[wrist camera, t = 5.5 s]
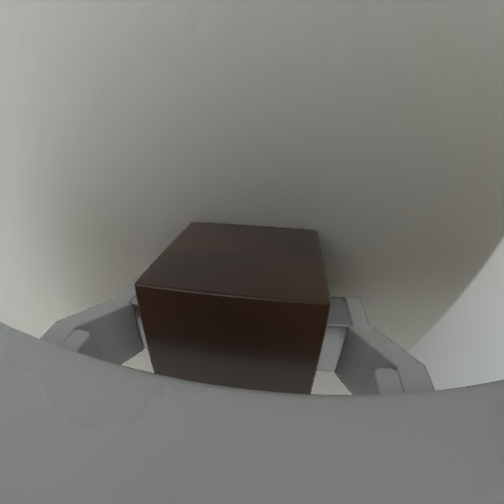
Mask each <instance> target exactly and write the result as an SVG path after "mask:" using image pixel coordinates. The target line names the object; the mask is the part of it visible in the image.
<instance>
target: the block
mask: <svg viewBox="0 0 504 504" xmlns="http://www.w3.org/2000/svg"><path fill="white" fill-rule="evenodd" d="M134 286H135V292H136V297H137V302H138V307H139V312H140V316H141V321H142V326H143V330H144V334H145V338H146V343H147V347H148V351H149V355H150V358H151V362H152V366H153V370H154V373H155V374H159V375H164V376H169V377H174V378H179V379H184V380H189V381H195V382H201V383H207V384H213V385H220V386H227V387H234V388H242V389H251V390H260V391H271V392H282V393H297V394H311V390H312V386H313V382H314V378H315V374H316V370H317V366H318V362H319V358H320V354H321V349H322V345H323V341H324V336H325V331H326V327H327V322H328V317H329V312H330V307H331V300H330V295H329V289H328V284H327V278H326V273H325V268H324V263H323V258H322V253H321V248H320V243H319V238H318V233H317V231H312V230H299V229H286V228H272V227H258V226H243V225H228V224H211V223H193V222H192V223H190V224H189V225H188V226H187V227H186V228H185V229H184V231H183V232H182V233H181V234H180V235H179V236H178V237H177V238H176V239H175V240H174V241H173V242H172V243H171V244H170V245H169V246H168V247H167V248H166V249H165V250H164V251H163V253H162V254H161V255H160V256H159V257H158V258H157V259H156V260H155V261H154V262H153V263H152V264H151V265H150V267H149V268H148V269H147V270H146V271H145V272H144V273H143V274H142V275H141V276H140V278H139V279H138V280H137V281H136V282H135V285H134Z"/></svg>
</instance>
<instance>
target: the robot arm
mask: <svg viewBox="0 0 504 504" xmlns="http://www.w3.org/2000/svg"><path fill="white" fill-rule="evenodd" d="M138 279H139V278H136V279H135V280H134V281H133V282H132V283H131V284H130V285H129V286H128V287H127V289H126V290H125V291H124V292H123V293H122V294H121V295H120V296H119V297H118V298H117V300H116V301H115V300H111V301H108V302H105V303H103V304H100V305H98V306H95V307H93V308H90V309H87V310H85V311H82V312H80V313H77V314H74V315H72V316H69V317H67V318H64V319H62V320H59V321H57V322H55V323H54V325H53V326H52V327H51V328H50V329H49V330H48V331H47V332H46V333H45V334H44V335H43V336H42V337H41V338H40V339H39V338H36V337H34V336H31V335H29V334H26V333H24V332H22V331H19V330H17V329H15V328H12V327H10V326H8V325H6V324H3V323H1V322H0V504H504V380H500V381H495V382H490V383H484V384H479V385H473V386H466V387H460V388H454V389H445V390H436V391H435V389H434V387H433V384H432V381H431V379H430V376H429V374H428V371H427V369H426V366H425V365H424V364H422V363H421V362H419V361H418V360H417V359H415V358H414V357H413V356H412V355H410V354H409V353H408V352H406V351H405V350H404V349H402V348H401V347H400V346H398V345H397V344H396V343H394V342H393V341H392V340H390V339H389V338H388V337H386V336H385V335H384V334H382V333H381V332H380V331H378V330H377V329H376V328H374V327H370V326H369V323H368V320H367V317H366V314H365V311H364V308H363V305H362V302H361V299H360V298H351V297H330V300H331V307H330V312H329V317H328V322H327V327H326V331H325V336H324V341H323V345H322V349H321V354H320V358H319V362H318V366H317V370H319V371H335V373H336V375H337V376H338V377H339V378H340V380H341V381H342V382H343V384H344V385H345V386H346V387H347V389H348V390H349V391H350V392H351V394H352V395H316V394H297V393H282V392H271V391H260V390H251V389H242V388H234V387H227V386H220V385H213V384H207V383H201V382H195V381H189V380H184V379H179V378H174V377H169V376H164V375H159V374H155V373H151V372H146V371H142V370H138V369H134V368H130V367H126V366H122V365H121V364H123V363H124V362H126V361H127V360H129V359H130V358H132V357H133V356H135V355H136V354H138V353H139V352H141V351H142V350H143V348H144V349H148V347H147V343H146V338H145V334H144V330H143V326H142V321H141V316H140V312H139V307H138V302H137V297H136V292H135V286H134V285H135V282H136V281H137V280H138Z"/></svg>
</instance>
